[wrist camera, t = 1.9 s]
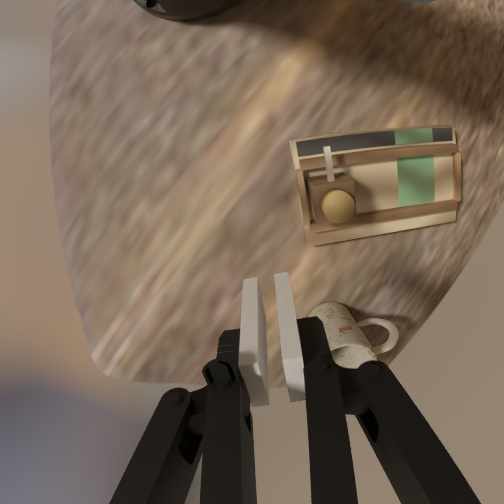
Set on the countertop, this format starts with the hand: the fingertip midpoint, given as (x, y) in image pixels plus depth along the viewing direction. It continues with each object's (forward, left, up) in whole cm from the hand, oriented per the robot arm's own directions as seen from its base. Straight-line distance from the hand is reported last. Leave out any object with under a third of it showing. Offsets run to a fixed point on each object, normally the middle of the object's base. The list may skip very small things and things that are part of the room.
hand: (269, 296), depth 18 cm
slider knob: (-2, +7, -18) cm, 19 cm away
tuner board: (0, +14, -19) cm, 24 cm away
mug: (+18, +8, -20) cm, 28 cm away
